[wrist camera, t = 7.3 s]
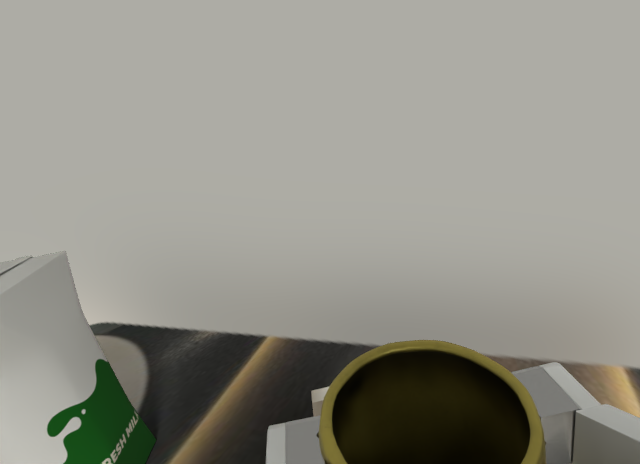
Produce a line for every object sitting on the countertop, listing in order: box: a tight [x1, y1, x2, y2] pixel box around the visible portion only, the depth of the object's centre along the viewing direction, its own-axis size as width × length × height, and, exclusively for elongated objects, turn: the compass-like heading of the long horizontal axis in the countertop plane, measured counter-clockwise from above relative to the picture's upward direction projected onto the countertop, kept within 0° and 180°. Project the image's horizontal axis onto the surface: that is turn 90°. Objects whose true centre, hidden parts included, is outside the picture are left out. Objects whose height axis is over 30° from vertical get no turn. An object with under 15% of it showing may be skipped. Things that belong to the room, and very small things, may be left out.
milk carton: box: [0, 251, 156, 464], centre depth 26 cm, size 9×9×20 cm
